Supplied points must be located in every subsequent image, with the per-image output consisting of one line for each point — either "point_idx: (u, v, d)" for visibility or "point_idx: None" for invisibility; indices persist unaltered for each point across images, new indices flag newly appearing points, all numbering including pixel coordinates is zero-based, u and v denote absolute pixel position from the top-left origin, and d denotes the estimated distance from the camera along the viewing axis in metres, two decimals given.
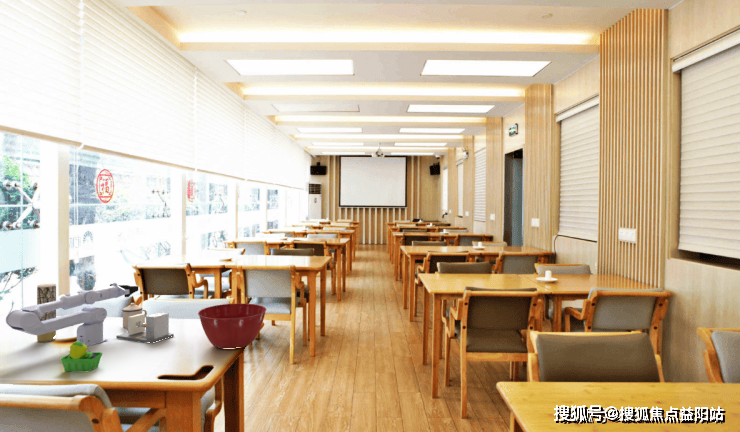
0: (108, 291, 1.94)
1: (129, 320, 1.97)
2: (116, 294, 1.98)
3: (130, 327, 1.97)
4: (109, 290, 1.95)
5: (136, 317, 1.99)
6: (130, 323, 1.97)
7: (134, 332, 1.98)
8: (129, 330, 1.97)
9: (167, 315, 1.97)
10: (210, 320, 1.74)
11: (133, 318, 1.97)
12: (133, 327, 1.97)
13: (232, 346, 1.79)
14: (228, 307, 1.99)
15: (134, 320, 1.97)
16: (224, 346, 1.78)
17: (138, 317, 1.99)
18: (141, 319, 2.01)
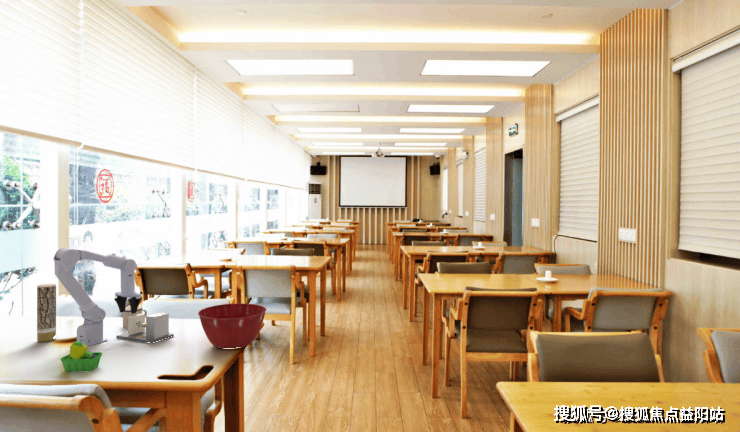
0: (132, 283, 2.02)
1: (129, 320, 1.97)
2: (130, 291, 2.00)
3: (130, 327, 1.97)
4: (134, 283, 2.03)
5: (136, 317, 1.99)
6: (130, 323, 1.97)
7: (134, 332, 1.98)
8: (129, 330, 1.97)
9: (167, 315, 1.97)
10: (210, 320, 1.74)
11: (133, 318, 1.97)
12: (133, 327, 1.97)
13: (232, 346, 1.79)
14: (228, 307, 1.99)
15: (134, 320, 1.97)
16: (224, 346, 1.78)
17: (138, 317, 1.99)
18: (141, 319, 2.01)
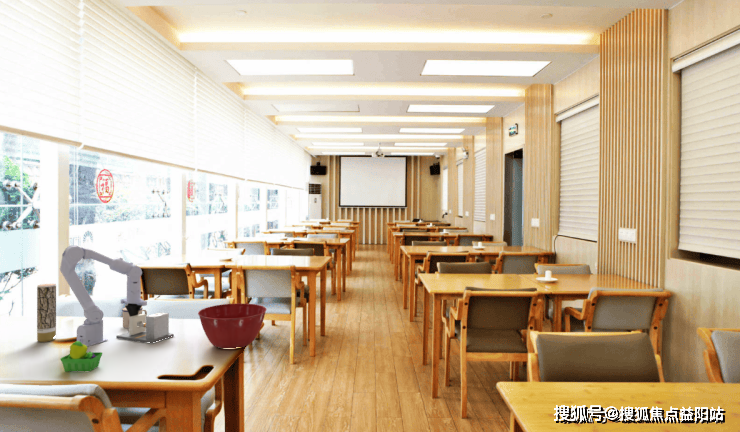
0: (137, 290, 1.99)
1: (130, 320, 1.96)
2: (135, 298, 1.99)
3: (131, 327, 1.96)
4: (140, 290, 2.01)
5: (137, 317, 1.98)
6: (131, 323, 1.96)
7: (135, 332, 1.97)
8: (130, 330, 1.97)
9: (167, 315, 1.97)
10: (210, 320, 1.75)
11: (134, 318, 1.97)
12: (134, 327, 1.97)
13: (232, 346, 1.79)
14: (228, 307, 1.99)
15: (135, 320, 1.97)
16: (224, 346, 1.78)
17: (139, 317, 1.99)
18: (142, 319, 2.01)
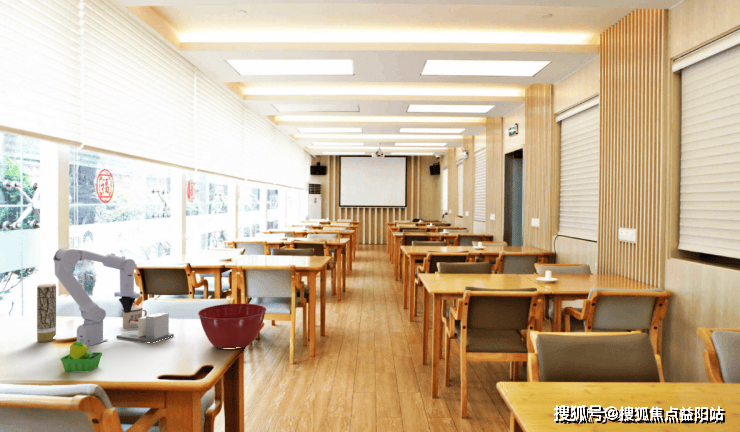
0: (132, 282, 2.02)
1: (140, 322, 1.94)
2: (129, 291, 2.01)
3: (140, 328, 1.94)
4: (133, 283, 2.03)
5: None
6: (140, 324, 1.94)
7: (144, 333, 1.95)
8: (139, 331, 1.94)
9: (167, 315, 1.97)
10: (210, 320, 1.74)
11: (143, 319, 1.95)
12: (143, 328, 1.95)
13: (232, 346, 1.79)
14: (228, 307, 1.99)
15: (144, 321, 1.95)
16: (224, 346, 1.78)
17: None
18: None
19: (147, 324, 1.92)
